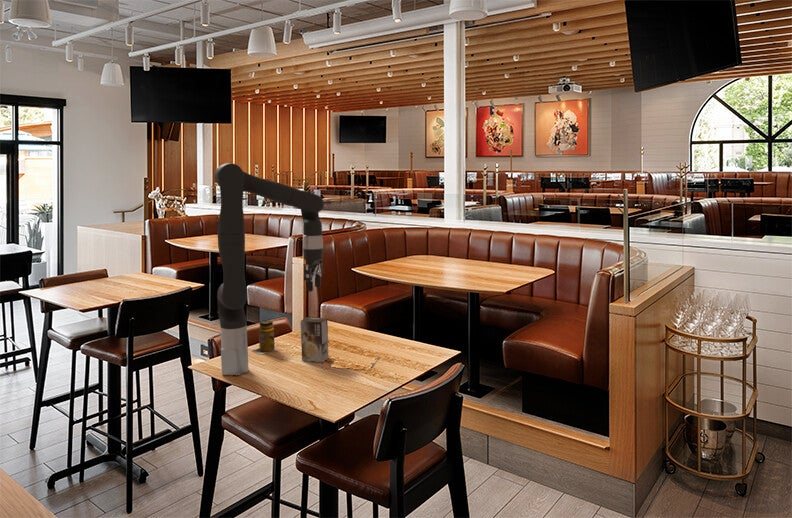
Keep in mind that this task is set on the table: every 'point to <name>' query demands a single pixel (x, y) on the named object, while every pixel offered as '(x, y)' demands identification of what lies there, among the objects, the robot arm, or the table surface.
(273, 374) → the table surface
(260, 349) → the condiment
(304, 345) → the coffee box
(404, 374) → the table surface
